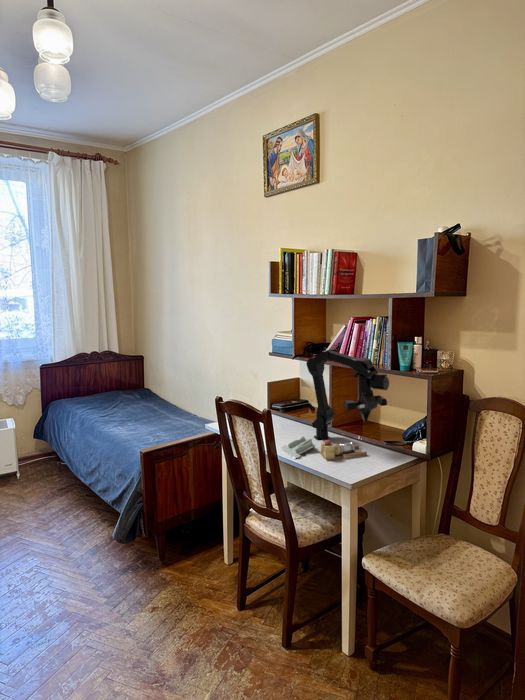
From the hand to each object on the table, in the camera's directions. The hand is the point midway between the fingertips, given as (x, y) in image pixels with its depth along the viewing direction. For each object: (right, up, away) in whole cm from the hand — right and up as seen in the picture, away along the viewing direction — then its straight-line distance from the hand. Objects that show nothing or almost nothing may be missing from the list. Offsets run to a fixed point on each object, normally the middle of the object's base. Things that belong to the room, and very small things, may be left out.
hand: (365, 421), depth 210 cm
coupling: (-9, -13, -6) cm, 17 cm away
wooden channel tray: (-11, -14, -6) cm, 18 cm away
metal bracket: (-29, -14, +2) cm, 32 cm away
